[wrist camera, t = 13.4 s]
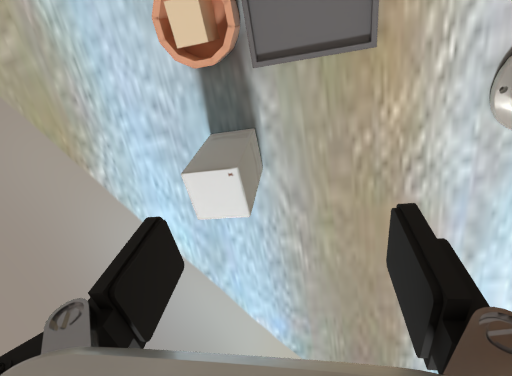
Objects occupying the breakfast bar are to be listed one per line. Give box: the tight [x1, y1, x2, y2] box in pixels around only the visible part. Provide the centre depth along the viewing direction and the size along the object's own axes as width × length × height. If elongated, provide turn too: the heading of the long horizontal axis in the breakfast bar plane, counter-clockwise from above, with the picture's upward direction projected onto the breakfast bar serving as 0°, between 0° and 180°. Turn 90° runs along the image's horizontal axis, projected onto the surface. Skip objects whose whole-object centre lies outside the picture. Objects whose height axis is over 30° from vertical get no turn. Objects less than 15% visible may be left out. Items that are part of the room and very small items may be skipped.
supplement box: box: [181, 128, 263, 220], centre depth 38 cm, size 7×7×13 cm
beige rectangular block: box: [164, 0, 220, 48], centre depth 32 cm, size 4×4×5 cm
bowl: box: [152, 0, 240, 68], centre depth 33 cm, size 10×10×4 cm
